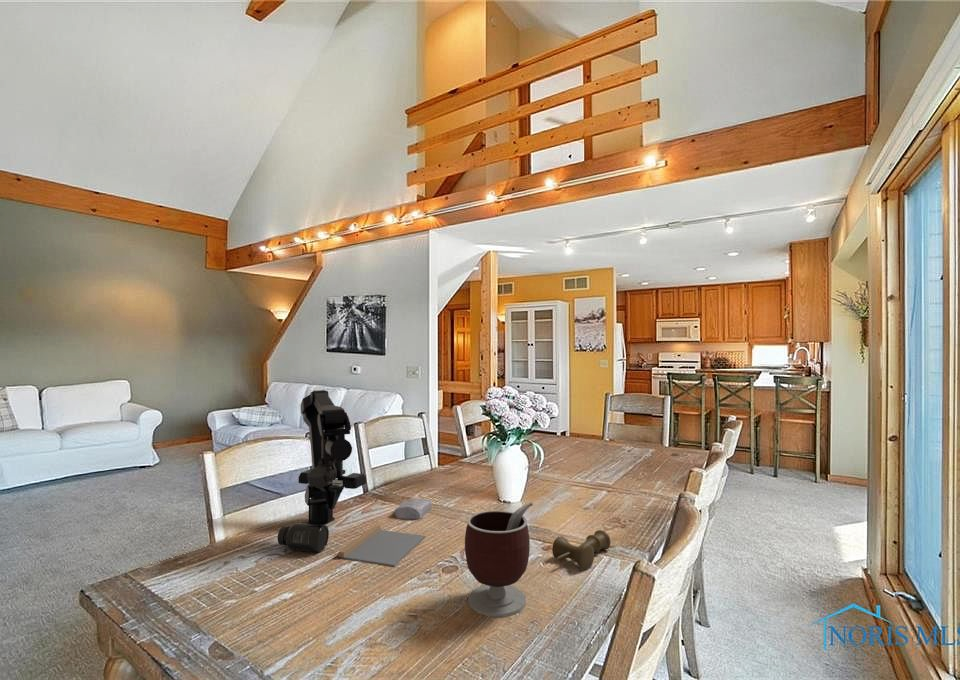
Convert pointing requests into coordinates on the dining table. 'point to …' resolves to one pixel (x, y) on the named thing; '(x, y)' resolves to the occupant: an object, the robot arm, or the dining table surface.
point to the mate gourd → (497, 560)
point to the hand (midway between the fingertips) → (331, 509)
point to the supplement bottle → (304, 537)
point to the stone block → (413, 508)
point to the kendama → (581, 549)
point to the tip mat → (381, 546)
